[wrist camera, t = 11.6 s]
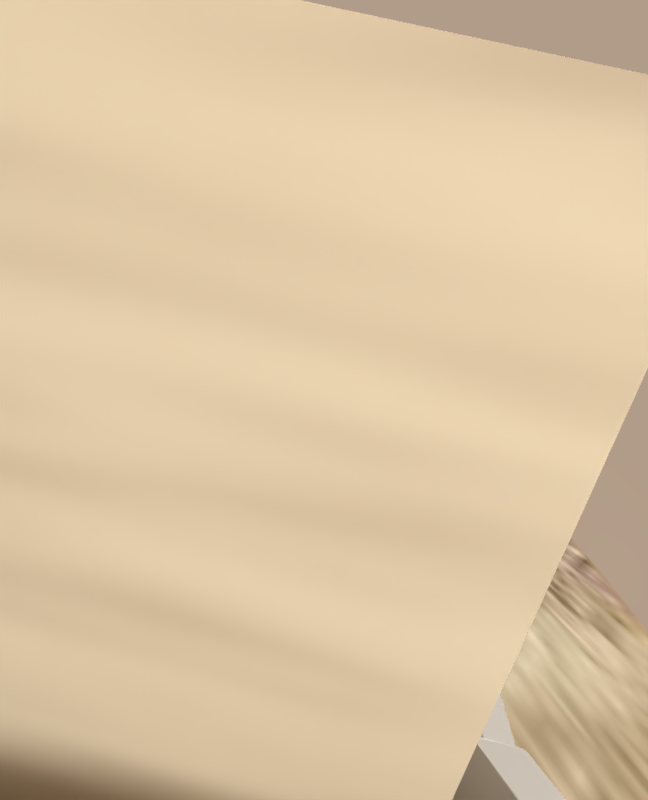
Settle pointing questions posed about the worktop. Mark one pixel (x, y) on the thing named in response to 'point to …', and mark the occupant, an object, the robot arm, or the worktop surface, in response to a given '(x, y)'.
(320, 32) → the rail bar
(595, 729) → the worktop surface
